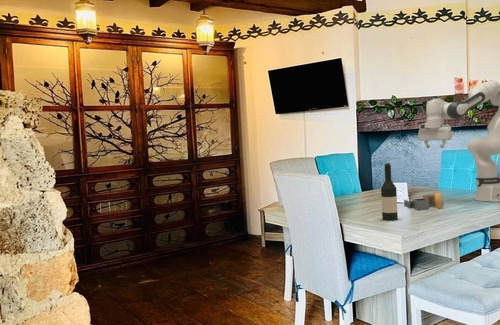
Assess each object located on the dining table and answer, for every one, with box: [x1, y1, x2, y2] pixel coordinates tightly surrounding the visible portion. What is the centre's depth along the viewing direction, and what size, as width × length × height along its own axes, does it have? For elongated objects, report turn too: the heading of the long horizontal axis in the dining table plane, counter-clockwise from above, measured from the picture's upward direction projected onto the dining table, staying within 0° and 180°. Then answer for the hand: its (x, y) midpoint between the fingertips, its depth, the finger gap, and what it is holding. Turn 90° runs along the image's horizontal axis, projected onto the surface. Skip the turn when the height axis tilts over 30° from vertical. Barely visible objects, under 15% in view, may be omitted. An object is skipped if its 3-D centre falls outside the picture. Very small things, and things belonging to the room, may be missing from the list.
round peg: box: [434, 192, 443, 210], centre depth 256 cm, size 4×4×9 cm
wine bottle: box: [380, 162, 399, 222], centre depth 233 cm, size 8×8×30 cm
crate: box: [422, 194, 435, 203], centre depth 266 cm, size 6×6×5 cm
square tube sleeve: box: [412, 198, 430, 211], centre depth 257 cm, size 7×7×6 cm
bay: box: [403, 199, 445, 209], centre depth 266 cm, size 20×10×4 cm, turn 89°
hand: (435, 148), depth 264 cm, fingers open, 8 cm apart
